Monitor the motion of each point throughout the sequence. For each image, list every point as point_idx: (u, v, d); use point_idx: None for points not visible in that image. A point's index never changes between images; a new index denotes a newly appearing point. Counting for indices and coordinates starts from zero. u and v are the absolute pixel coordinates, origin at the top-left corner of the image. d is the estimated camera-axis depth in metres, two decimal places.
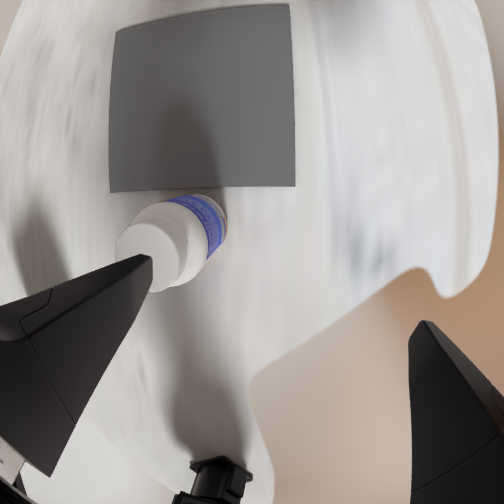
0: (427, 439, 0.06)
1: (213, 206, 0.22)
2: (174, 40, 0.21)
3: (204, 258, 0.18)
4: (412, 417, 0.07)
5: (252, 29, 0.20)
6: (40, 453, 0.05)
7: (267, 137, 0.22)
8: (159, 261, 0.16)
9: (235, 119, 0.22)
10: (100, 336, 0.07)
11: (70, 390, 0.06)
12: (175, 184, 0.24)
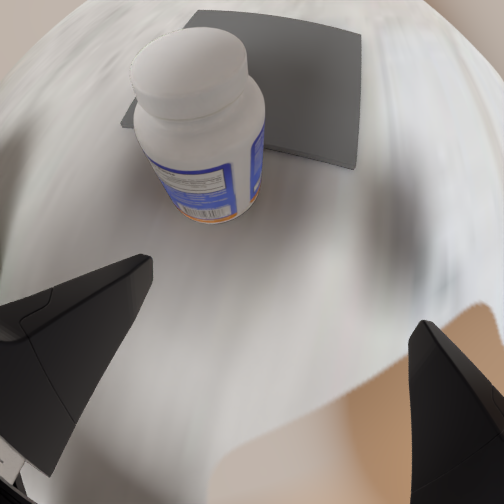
0: (427, 439, 0.06)
1: None
2: (252, 26, 0.21)
3: (255, 131, 0.11)
4: (412, 417, 0.07)
5: (327, 38, 0.21)
6: (40, 453, 0.05)
7: (330, 113, 0.19)
8: (209, 58, 0.08)
9: (298, 90, 0.19)
10: (100, 336, 0.07)
11: (70, 390, 0.06)
12: None
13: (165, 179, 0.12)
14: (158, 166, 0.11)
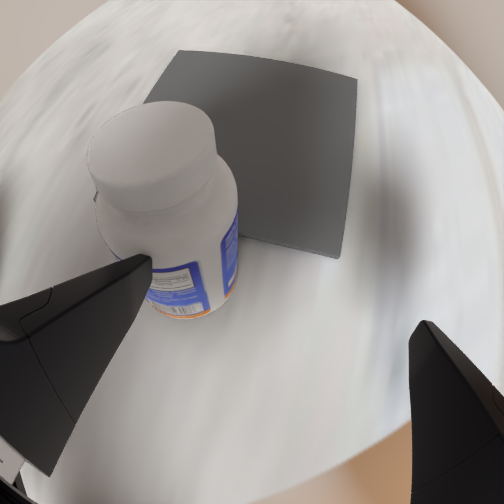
0: (427, 439, 0.06)
1: None
2: (235, 72, 0.21)
3: (225, 226, 0.10)
4: (412, 417, 0.07)
5: (319, 87, 0.21)
6: (40, 453, 0.05)
7: (316, 190, 0.18)
8: (172, 140, 0.08)
9: (282, 161, 0.19)
10: (100, 336, 0.07)
11: (70, 390, 0.06)
12: None
13: None
14: (120, 260, 0.10)
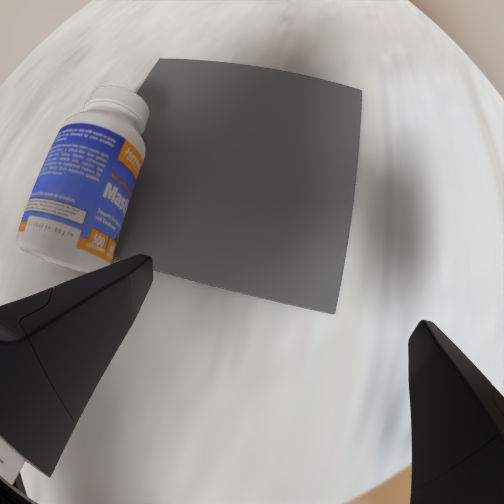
0: (427, 439, 0.06)
1: (47, 206, 0.11)
2: (221, 85, 0.19)
3: None
4: (412, 417, 0.07)
5: (317, 101, 0.19)
6: (40, 453, 0.05)
7: (310, 234, 0.16)
8: None
9: (272, 199, 0.17)
10: (100, 336, 0.07)
11: (70, 390, 0.06)
12: (158, 263, 0.16)
13: None
14: None
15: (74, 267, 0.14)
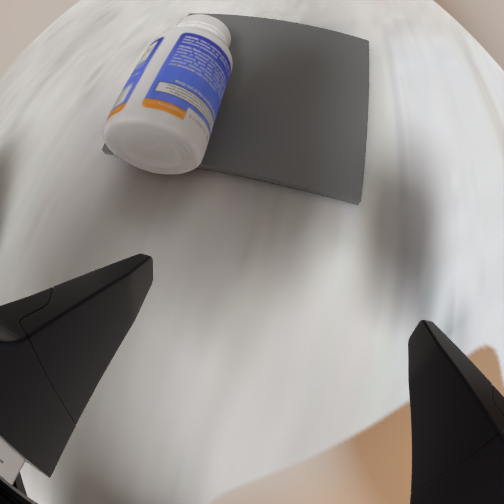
0: (427, 439, 0.06)
1: (206, 111, 0.13)
2: (247, 32, 0.20)
3: (190, 29, 0.13)
4: (412, 417, 0.07)
5: (331, 45, 0.19)
6: (40, 453, 0.05)
7: (333, 137, 0.17)
8: None
9: (298, 109, 0.17)
10: (100, 336, 0.07)
11: (70, 390, 0.06)
12: None
13: None
14: None
15: (131, 155, 0.14)
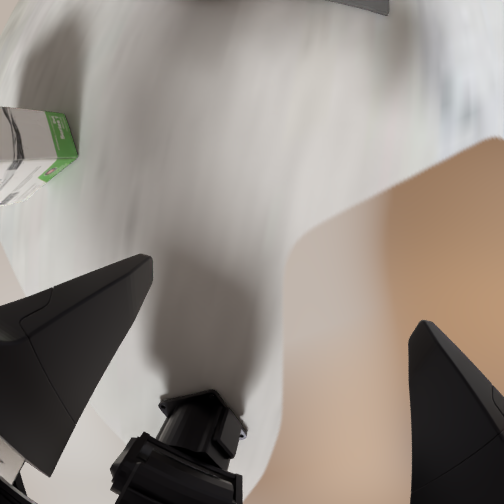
0: (427, 439, 0.06)
1: None
2: None
3: None
4: (412, 417, 0.07)
5: None
6: (40, 453, 0.05)
7: None
8: None
9: None
10: (100, 336, 0.07)
11: (70, 390, 0.06)
12: None
13: None
14: None
15: None
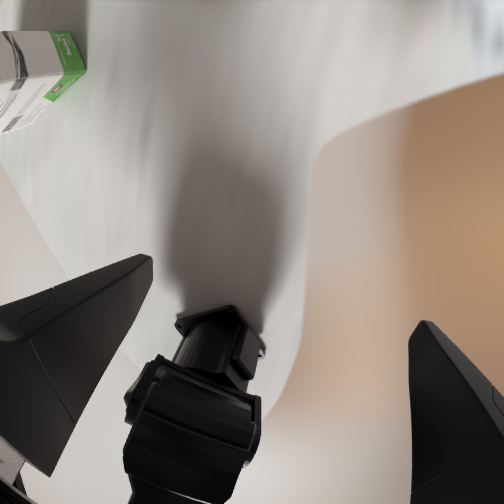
0: (427, 439, 0.06)
1: None
2: None
3: None
4: (412, 417, 0.07)
5: None
6: (40, 453, 0.05)
7: None
8: None
9: None
10: (100, 336, 0.07)
11: (70, 390, 0.06)
12: None
13: None
14: None
15: None
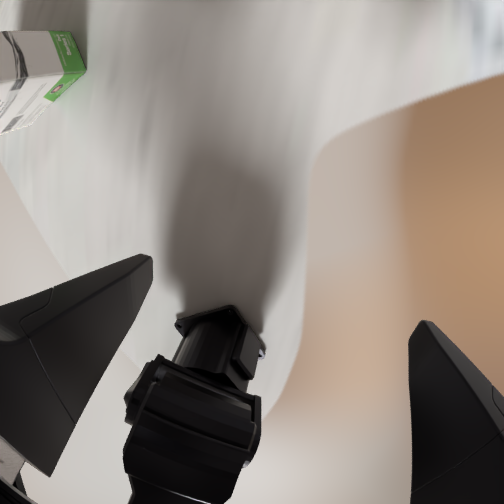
0: (427, 439, 0.06)
1: None
2: None
3: None
4: (412, 417, 0.07)
5: None
6: (40, 453, 0.05)
7: None
8: None
9: None
10: (100, 336, 0.07)
11: (70, 390, 0.06)
12: None
13: None
14: None
15: None
